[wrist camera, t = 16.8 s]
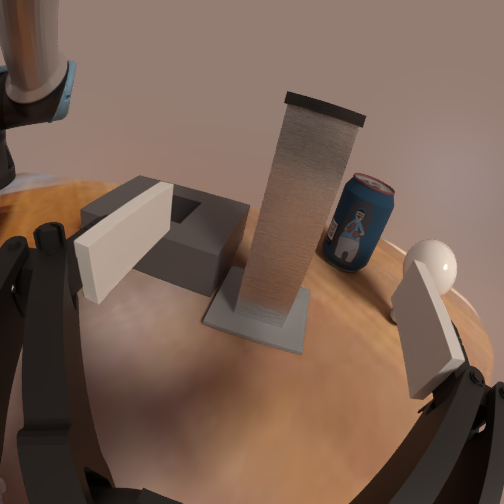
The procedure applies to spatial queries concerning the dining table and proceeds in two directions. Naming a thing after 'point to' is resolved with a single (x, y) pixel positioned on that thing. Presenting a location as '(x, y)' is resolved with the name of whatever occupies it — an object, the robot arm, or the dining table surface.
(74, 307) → the robot arm
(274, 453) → the dining table surface
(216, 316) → the mat
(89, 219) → the dark gray block
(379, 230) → the soda can
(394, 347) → the dining table surface
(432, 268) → the lightbulb
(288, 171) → the plug
